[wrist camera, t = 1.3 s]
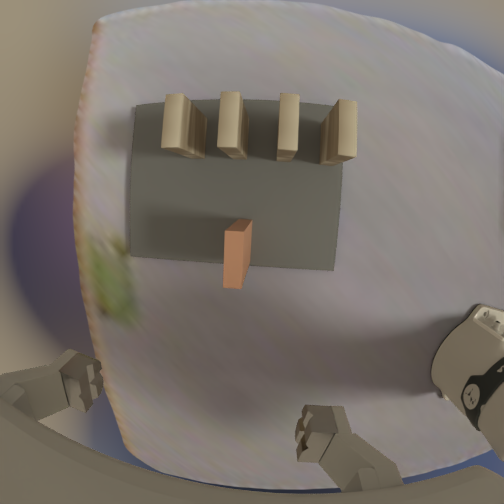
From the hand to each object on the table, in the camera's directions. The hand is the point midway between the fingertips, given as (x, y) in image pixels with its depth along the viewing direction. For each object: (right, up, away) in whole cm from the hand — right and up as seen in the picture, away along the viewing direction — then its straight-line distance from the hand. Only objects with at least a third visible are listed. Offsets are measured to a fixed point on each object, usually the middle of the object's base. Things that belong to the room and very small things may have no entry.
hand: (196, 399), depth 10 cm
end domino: (+1, +7, +25) cm, 26 cm away
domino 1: (-4, +19, +23) cm, 30 cm away
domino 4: (+11, +18, +22) cm, 30 cm away
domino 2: (+1, +19, +22) cm, 29 cm away
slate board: (0, +14, +24) cm, 28 cm away
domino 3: (+6, +18, +22) cm, 29 cm away
